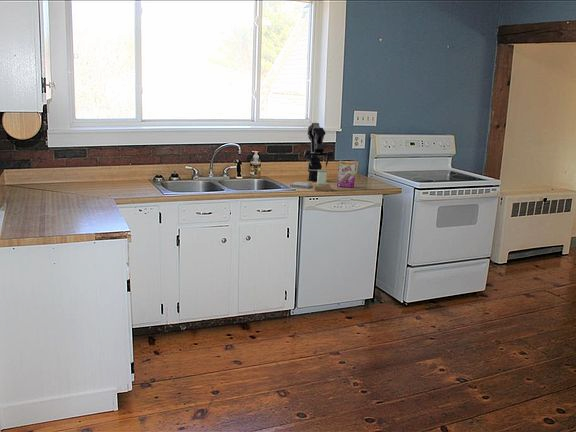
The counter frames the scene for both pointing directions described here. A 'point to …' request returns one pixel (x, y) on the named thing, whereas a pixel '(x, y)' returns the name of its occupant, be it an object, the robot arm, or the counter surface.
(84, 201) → the counter surface
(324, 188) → the tan flat block
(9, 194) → the counter surface
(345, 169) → the candy bar box
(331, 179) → the counter surface
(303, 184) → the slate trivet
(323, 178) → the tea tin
